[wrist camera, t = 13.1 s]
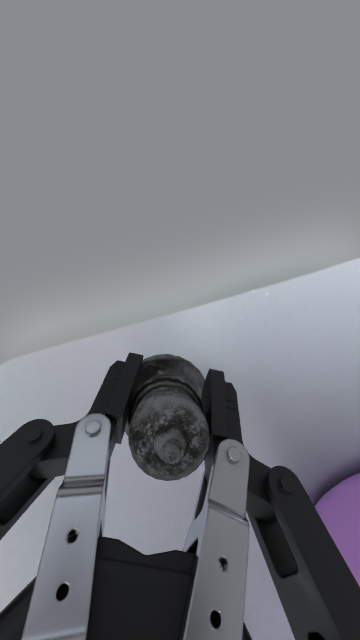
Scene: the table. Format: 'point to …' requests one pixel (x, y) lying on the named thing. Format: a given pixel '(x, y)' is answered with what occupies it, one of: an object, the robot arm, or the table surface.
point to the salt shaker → (168, 418)
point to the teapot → (344, 520)
